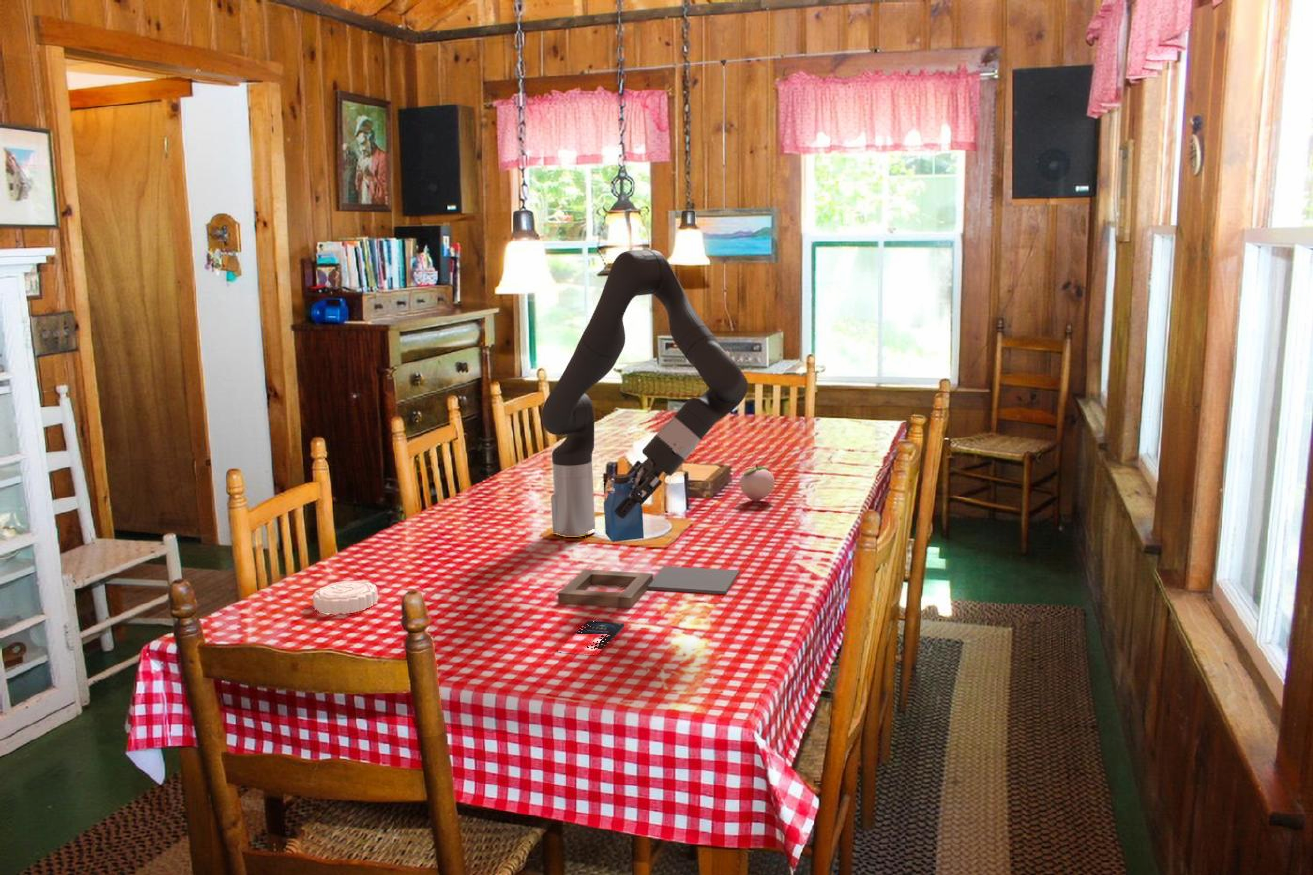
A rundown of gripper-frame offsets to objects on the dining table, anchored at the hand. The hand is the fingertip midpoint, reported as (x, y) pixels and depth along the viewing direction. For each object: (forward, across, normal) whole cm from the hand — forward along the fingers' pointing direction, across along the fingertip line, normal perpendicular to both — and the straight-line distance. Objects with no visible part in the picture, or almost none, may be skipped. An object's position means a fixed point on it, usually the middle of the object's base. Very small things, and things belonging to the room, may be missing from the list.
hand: (615, 510), depth 207 cm
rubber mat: (+1, -1, +23) cm, 23 cm away
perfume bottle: (+3, 0, +5) cm, 6 cm away
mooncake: (+48, -10, -25) cm, 55 cm away
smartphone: (+19, +23, +5) cm, 30 cm away
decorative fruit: (-22, -56, +46) cm, 76 cm away
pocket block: (+13, 0, +10) cm, 16 cm away
